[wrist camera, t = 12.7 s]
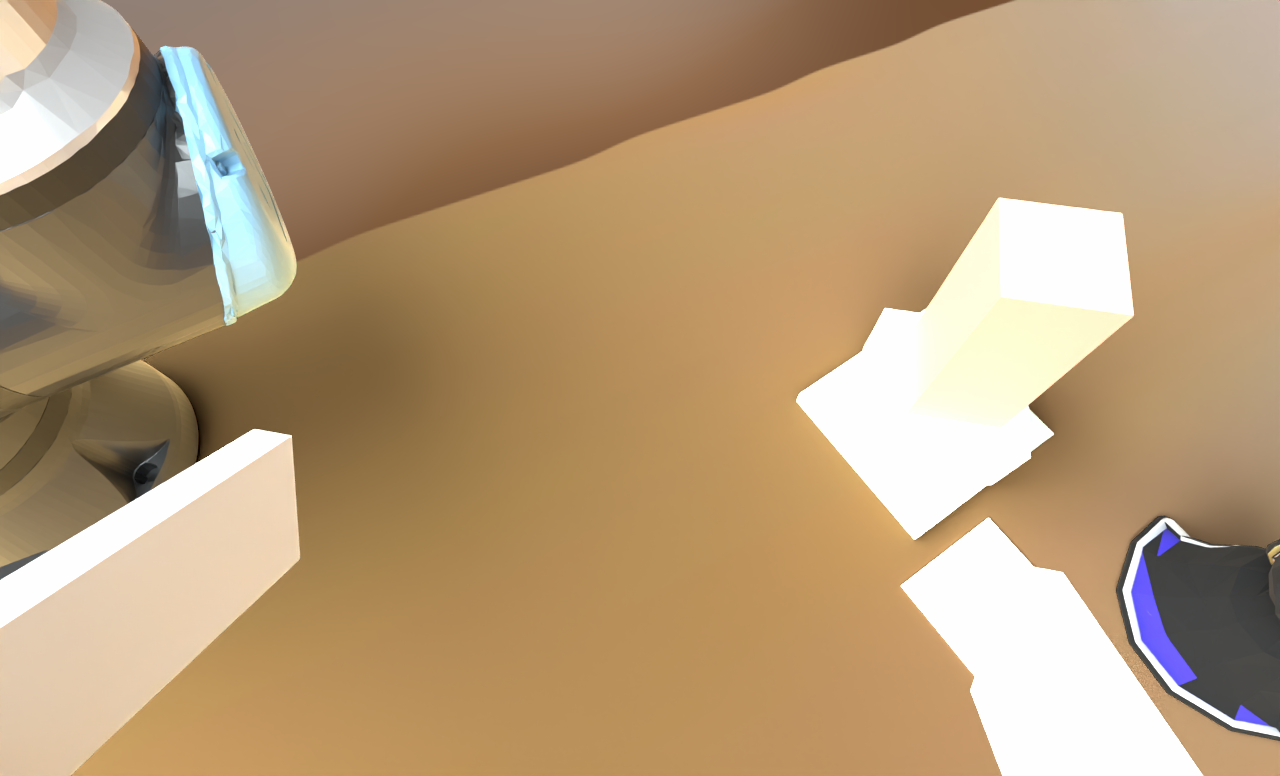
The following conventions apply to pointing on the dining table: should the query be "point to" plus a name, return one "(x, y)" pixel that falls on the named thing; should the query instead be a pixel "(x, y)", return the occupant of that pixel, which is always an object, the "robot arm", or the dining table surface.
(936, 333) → the tall brick
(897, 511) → the plate
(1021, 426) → the base brick
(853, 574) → the dining table surface
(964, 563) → the page
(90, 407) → the robot arm
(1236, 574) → the figurine
